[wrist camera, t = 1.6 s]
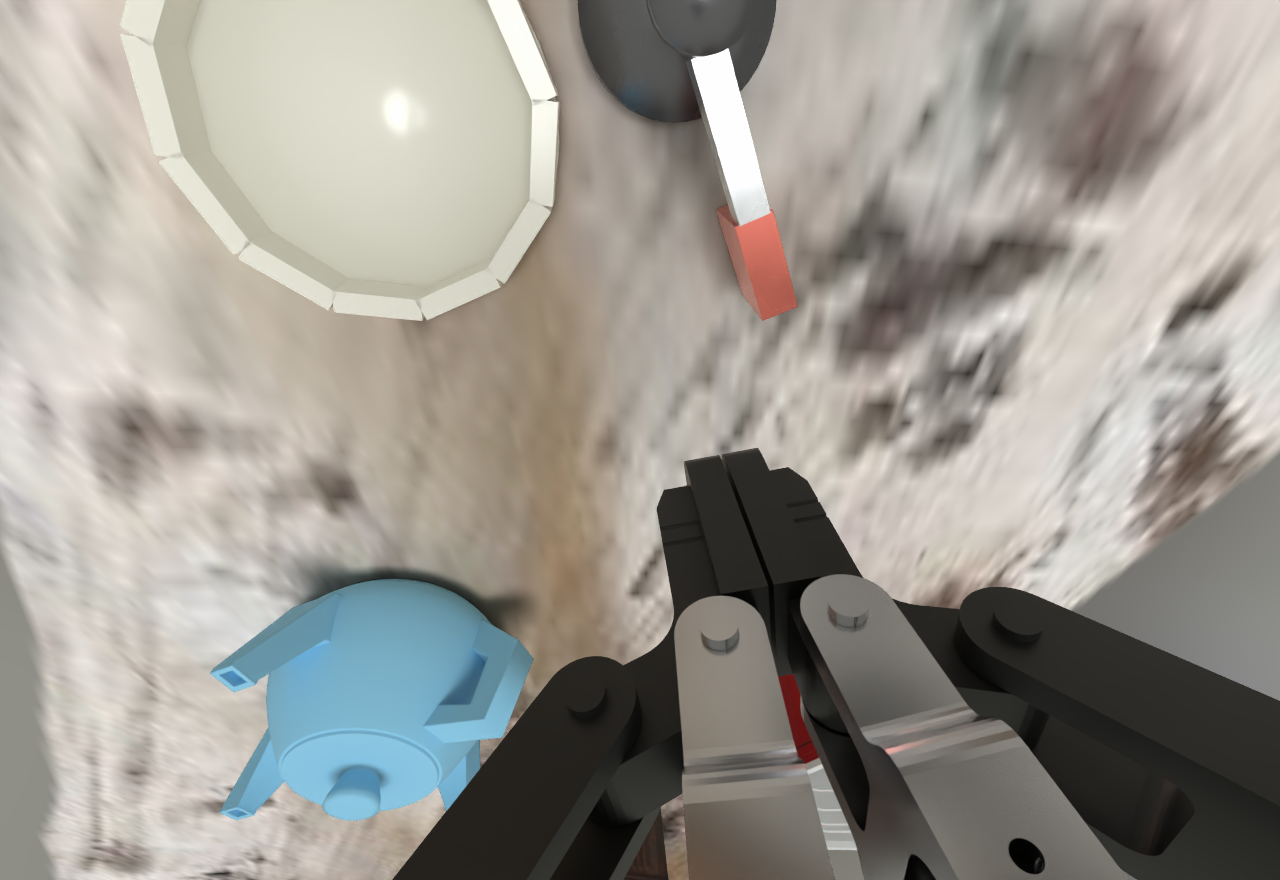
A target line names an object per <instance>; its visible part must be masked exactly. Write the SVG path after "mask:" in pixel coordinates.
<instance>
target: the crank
mask: <svg viewBox="0 0 1280 880" xmlns="http://www.w3.org/2000/svg"><path fill="white" fill-rule="evenodd" d="M685 62H686V65H687V69H688V72H689V75H690V79H691V82H692V85H693V89H694V92H695V96H696V99H697V102H698V106H699V109H700V112H701V116H702V119H703V122H704V126H705V129H706V133H707V136H708V139H709V143H710V146H711V149H712V153H713V156H714V159H715V163H716V166H717V170H718V173H719V176H720V180H721V183H722V186H723V190H724V193H725V197H726V200H727V203H728V205H725V206H723V207H721V208H719V209H716V212H717V215H718V218H719V221H720V225H721V228H722V231H723V234H724V237H725V241H726V244H727V247H728V250H729V254H730V257H731V260H732V263H733V266H734V270H735V273H736V276H737V279H738V283H739V286H740V289H741V292H742V295H743V296H744V297H745V299H746V300H747V301H748V303H749V304H750V305H751V306H752V308H753V309H754V310H755V312H756V313H757V314H758V316H759V317H760V318H761V319H762V321H763V320H766V319H768V318H771V317H773V316H776V315H778V314H781V313H783V312H785V311H788V310H790V309H793V308H795V307H798V306H797V302H796V298H795V294H794V290H793V286H792V283H791V279H790V275H789V271H788V267H787V263H786V259H785V255H784V251H783V247H782V243H781V239H780V236H779V232H778V228H777V224H776V220H775V216H774V212H773V210H772V209H770V208H769V204H768V201H767V197H766V193H765V189H764V185H763V181H762V177H761V173H760V170H759V166H758V162H757V158H756V154H755V150H754V146H753V142H752V139H751V135H750V131H749V127H748V123H747V119H746V115H745V111H744V108H743V104H742V100H741V96H740V92H739V88H738V84H737V80H736V77H735V73H734V69H733V65H732V61H731V57H730V53H729V49H726V50H724V51H722V52H720V53H717V54H714V55H709V56H705V57H693V58H691V59H689V60H687V61H685Z"/></svg>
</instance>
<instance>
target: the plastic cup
mask: <svg viewBox="0 0 1280 880" xmlns="http://www.w3.org/2000/svg"><path fill="white" fill-rule="evenodd" d="M778 679H779V683H780V687H781V691H782V695H783V699H784V703H785V707H786V711H787V716H788V720H789V724H790V728H791V732H792V736H793V740H794V744H795V747H796V751H797V754H798V756H799V758H801V759H802V760H803V762H804V764H805V767H806V770H807V773H808V776H809V779H810V783H811V786H812V790H813V794H814V798H815V802H816V806H817V810H818V814H819V818H820V821H821V825H822V829H823V833H824V837H825V841H826V845H827V849H828V850H829V849H830V850H857V847H856V844H855V841H854V838H853V836H852V833H851V831H850V828H849V826H848V823H847V821H846V819H845V817H844V814H843V812H842V810H841V807H840V805H839V803H838V800H837V798H836V796H835V793H834V791H833V789H832V786H831V784H830V782H829V779H828V777H827V775H826V772H825V770H824V768H823V765H822V763H821V761H820V758H819V756H818V754H817V751H816V749H815V747H814V744H813V742H812V740H811V737H810V735H809V733H808V730H807V728H806V726H805V723H804V721H803V718H802V715H801V694H800V692H799V689H798V686H797V683H796V680H795V678H794V675H793V674H790V675H785V676H779V677H778Z"/></svg>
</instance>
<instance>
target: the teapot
mask: <svg viewBox="0 0 1280 880" xmlns="http://www.w3.org/2000/svg"><path fill="white" fill-rule="evenodd" d="M533 659H534V658H533V657H532V656H531V655H530V653H529V652H528V651H527V650H526V649H525V647H524V646H523V645H522V644H521V642H520V641H519V640H518V639H516V638H514V637H513V636H511V635H509V634H507V633H506V632H504V631H502V630H500V629H499V628H497V627H495V626H493V625H492V624H491V623H490V622H489V620H488V619H487V618H486V617H485V616H484V615H483V614H482V613H481V612H480V611H479V610H478V609H477V608H476V607H475V606H473V605H472V604H471V603H470V602H468V601H467V600H466V599H464V598H463V597H461V596H459V595H458V594H456V593H454V592H452V591H450V590H448V589H445V588H443V587H440V586H437V585H434V584H431V583H427V582H422V581H417V580H410V579H379V580H372V581H367V582H362V583H358V584H354V585H350V586H347V587H344V588H341V589H339V590H336V591H333V592H331V593H328V594H326V595H324V596H322V597H320V598H318V599H315V600H313V601H310V602H307V603H304V604H301V605H299V606H296V607H293V608H292V609H291V610H289V611H288V612H287V613H285V614H284V615H283V616H281V617H280V618H279V619H278V620H276V621H275V622H274V623H272V624H271V625H270V626H268V627H267V628H266V629H264V630H263V631H262V632H261V633H259V634H258V635H257V636H255V637H254V638H253V639H251V640H250V641H249V642H247V643H246V644H245V645H244V646H242V647H241V648H240V649H238V650H237V651H236V652H234V653H233V654H232V655H230V656H229V657H228V658H227V659H225V660H224V661H223V662H221V663H220V664H219V665H217V666H216V667H215V668H213V670H212V671H211V673H210V674H211V675H213V676H214V677H215V678H216V679H218V680H219V681H220V682H222V683H223V684H224V685H225V686H227V687H228V688H229V689H231V690H232V691H233V692H236V691H239V690H242V689H245V688H247V687H250V686H253V685H255V684H256V683H257V681H258V680H259V679H260V678H262V677H264V676H266V675H267V674H269V677H268V683H267V696H266V704H267V716H268V726H269V727H268V729H267V731H266V733H265V734H264V736H263V738H262V739H261V741H260V743H259V745H258V746H257V748H256V750H255V752H254V753H253V755H252V757H251V758H250V760H249V762H248V764H247V765H246V767H245V769H244V770H243V772H242V774H241V776H240V777H239V779H238V781H237V783H236V784H235V786H234V788H233V789H232V791H231V793H230V795H229V796H228V798H227V800H226V802H225V803H224V805H223V807H222V808H221V810H220V812H219V813H221V814H223V815H226V816H228V817H230V818H232V819H235V820H239V819H243V818H246V817H250V816H254V815H255V813H256V811H257V809H258V808H259V807H260V806H261V805H262V804H263V803H264V802H265V801H266V800H267V799H268V798H269V797H270V796H271V795H272V794H273V793H274V792H275V791H276V790H277V788H278V787H279V786H280V785H281V784H282V783H283V782H284V781H285V782H286V784H287V785H288V786H289V787H290V788H291V789H292V790H293V791H294V792H296V793H297V794H299V795H300V796H302V797H304V798H306V799H308V800H310V801H312V802H314V803H317V804H320V805H322V808H323V810H324V811H325V812H326V813H327V814H329V815H331V816H333V817H335V818H338V819H342V820H362V819H367V818H370V817H372V816H374V815H376V814H377V813H378V812H379V811H384V810H391V809H396V808H400V807H403V806H407V805H409V804H412V803H414V802H417V801H418V800H420V799H422V798H424V797H425V796H427V795H428V794H430V793H431V792H432V791H433V790H434V789H435V788H436V787H438V788H439V791H440V794H441V797H442V799H443V802H444V805H445V808H446V811H447V810H448V809H449V807H450V806H451V805H452V804H453V802H454V801H455V800H456V799H457V797H458V796H459V795H460V793H461V792H462V791H463V790H464V788H465V787H466V786H467V785H468V783H469V782H470V781H471V780H472V778H473V777H474V776H475V775H476V773H477V772H478V771H479V769H480V740H483V739H492V738H501V737H503V734H504V732H505V729H506V727H507V724H508V722H509V719H510V717H511V714H512V712H513V709H514V707H515V704H516V702H517V699H518V697H519V694H520V692H521V689H522V687H523V684H524V682H525V679H526V676H527V674H528V671H529V669H530V666H531V664H532V661H533Z"/></svg>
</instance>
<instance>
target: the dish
mask: <svg viewBox="0 0 1280 880" xmlns="http://www.w3.org/2000/svg"><path fill="white" fill-rule="evenodd" d="M120 27H122V28H123V29H125V30H126V31H128V32H129V33H131V34H132V35H126V34H120V36H121V39H122V43H123V46H124V50H125V53H126V57H127V60H128V64H129V67H130V71H131V74H132V78H133V81H134V85H135V88H136V92H137V95H138V99H139V102H140V106H141V109H142V113H143V116H144V120H145V123H146V127H147V130H148V134H149V137H150V141H151V144H152V148H153V151H154V154H155V155H157V156H164V157H167V158H165V159H163V160H161V161H159V163H160V165H161V166H162V167H163V168H164V170H165V171H166V172H167V173H168V175H169V176H170V177H171V178H172V180H173V181H174V182H175V183H176V184H177V186H178V187H179V188H180V189H181V191H182V192H183V193H184V194H185V196H186V197H187V198H188V199H189V201H190V202H191V203H192V204H193V206H194V207H195V208H196V209H197V210H198V212H199V213H200V214H201V215H202V217H203V218H204V219H205V220H206V222H207V223H208V224H209V225H210V227H211V228H212V229H213V230H214V232H215V233H216V234H217V235H218V236H219V238H220V239H221V240H222V241H223V243H224V244H225V245H226V246H227V248H228V249H229V250H230V251H231V253H232V254H233V255H234V254H236V253H238V252H240V251H242V252H241V254H240V257H239V260H241V261H243V262H244V263H246V264H248V265H250V266H251V267H253V268H255V269H257V270H258V271H260V272H262V273H264V274H265V275H267V276H269V277H271V278H272V279H274V280H276V281H278V282H279V283H281V284H283V285H285V286H286V287H288V288H290V289H292V290H293V291H295V292H297V293H299V294H300V295H302V296H304V297H306V298H307V299H309V300H311V301H313V302H314V303H316V304H318V305H320V306H321V307H323V308H325V309H327V310H328V311H329V310H330V309H331V308H332V307H333V308H334V312H335V313H345V314H356V315H366V316H376V317H387V318H397V319H408V320H418V321H423V319H424V318H425V317H426V319H427V320H429V319H431V318H433V317H435V316H438V315H440V314H442V313H444V312H447V311H449V310H451V309H453V308H456V307H458V306H460V305H462V304H465V303H467V302H469V301H471V300H473V299H476V298H478V297H480V296H482V295H485V294H487V293H489V292H491V291H494V290H496V289H498V288H500V287H501V285H502V283H504V284H505V283H506V281H507V280H508V278H509V276H510V275H511V273H512V272H513V270H514V269H515V267H516V266H517V264H518V263H519V261H520V259H521V258H522V256H523V255H524V253H525V252H526V250H527V249H528V247H529V246H530V244H531V242H532V241H533V239H534V238H535V236H536V235H537V233H538V232H539V230H540V229H541V227H542V225H543V224H544V222H545V221H546V219H547V218H548V216H549V215H550V213H551V211H552V207H553V204H554V200H555V186H556V174H557V166H558V157H559V110H560V101H556V97H555V96H557V95H559V94H558V92H557V89H556V87H555V84H554V82H553V80H552V77H551V75H550V71H549V68H548V65H547V62H546V60H545V57H544V54H543V51H542V48H541V45H540V43H539V41H538V39H537V36H536V34H535V32H534V30H533V28H532V26H531V24H530V22H529V20H528V18H527V16H526V14H525V12H524V10H523V7H522V5H521V2H520V0H126V4H125V7H124V11H123V15H122V19H121V23H120Z"/></svg>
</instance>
